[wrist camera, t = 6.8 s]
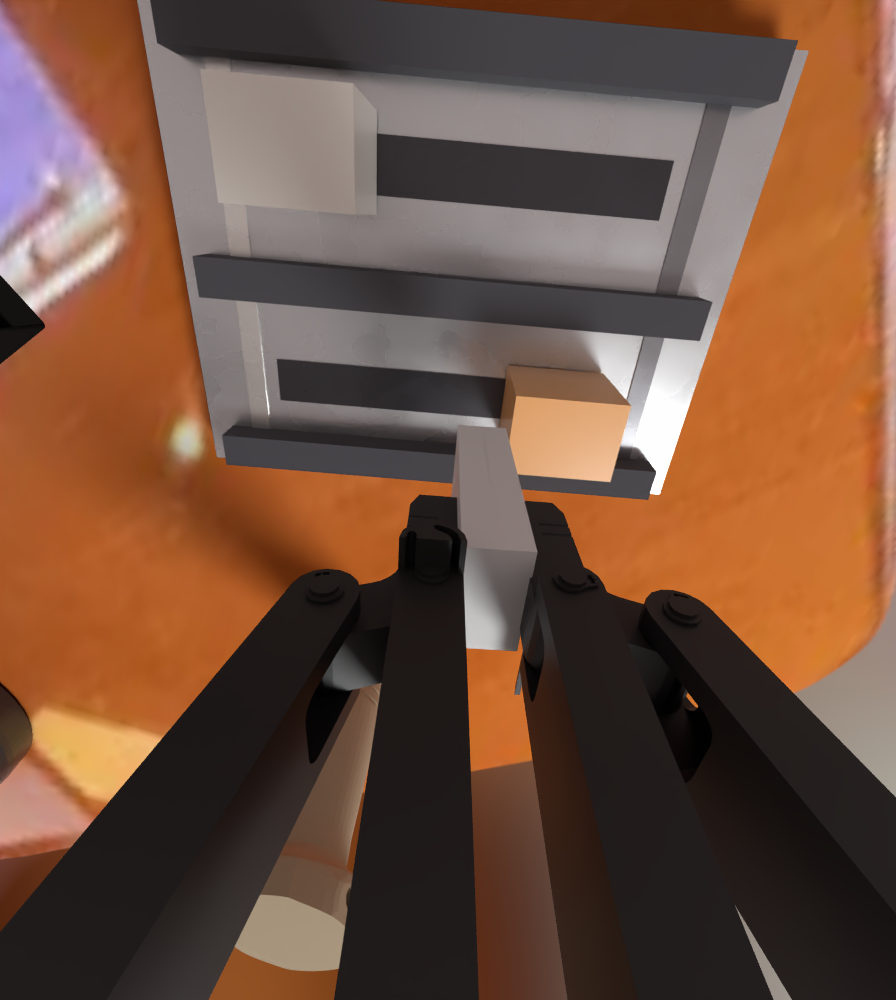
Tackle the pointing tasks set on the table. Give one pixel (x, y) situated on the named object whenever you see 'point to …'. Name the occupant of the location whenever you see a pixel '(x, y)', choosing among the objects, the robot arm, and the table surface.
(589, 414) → the toggle
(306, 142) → the toggle
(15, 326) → the black notched stand
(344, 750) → the handle
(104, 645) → the table surface
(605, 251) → the panel
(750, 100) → the slotted rail tray
